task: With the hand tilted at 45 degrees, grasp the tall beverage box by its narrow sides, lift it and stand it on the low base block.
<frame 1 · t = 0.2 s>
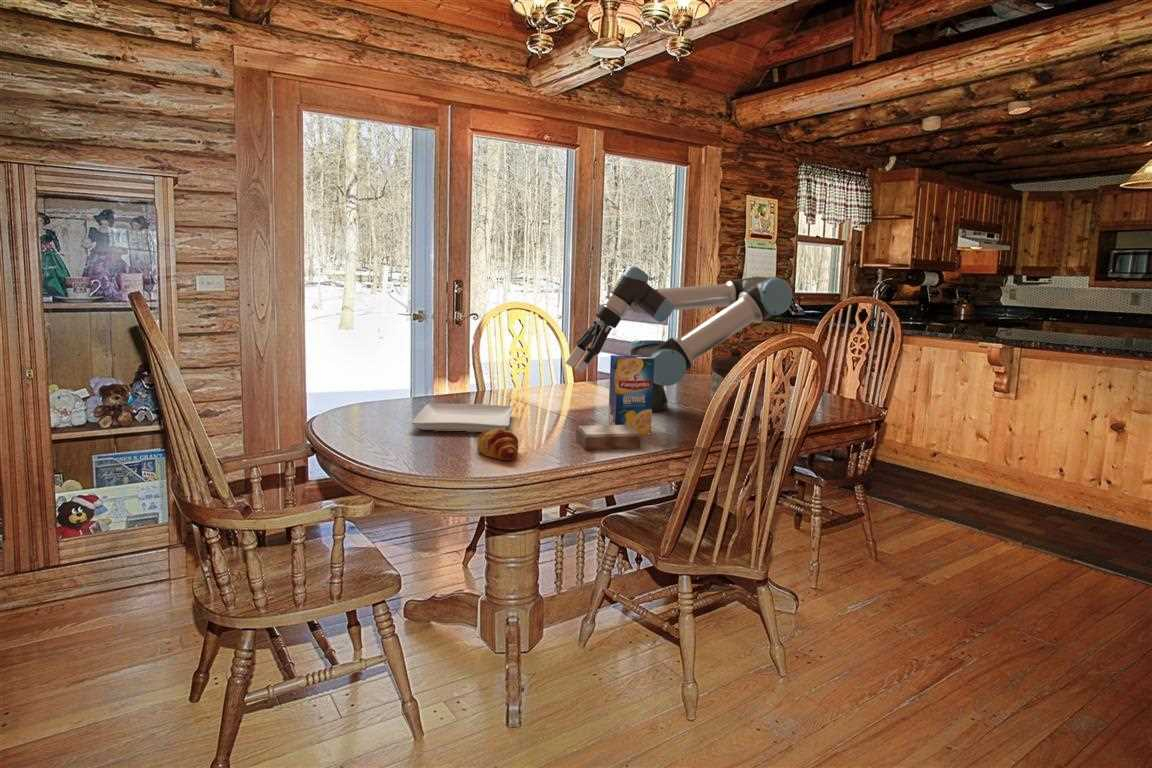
hand: (573, 368, 222), 16 cm above the table, tool tilted 35°, fingers open, 13 cm apart
beverage box: (629, 432, 208), on the table
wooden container: (732, 416, 235), on the table
base block: (607, 443, 193), on the table
croissant: (498, 454, 181), on the table
square plate: (465, 425, 212), on the table
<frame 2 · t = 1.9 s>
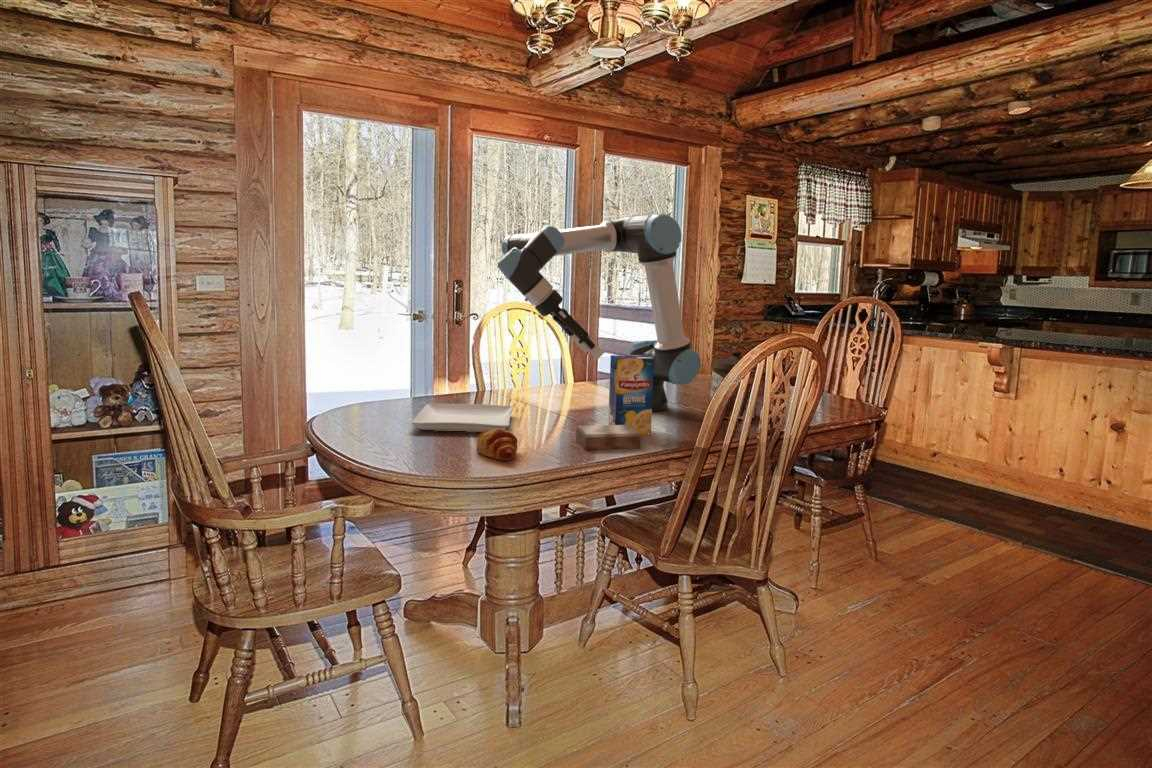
hand: (594, 353, 201), 23 cm above the table, tool tilted 45°, fingers open, 13 cm apart
nothing on the table moved.
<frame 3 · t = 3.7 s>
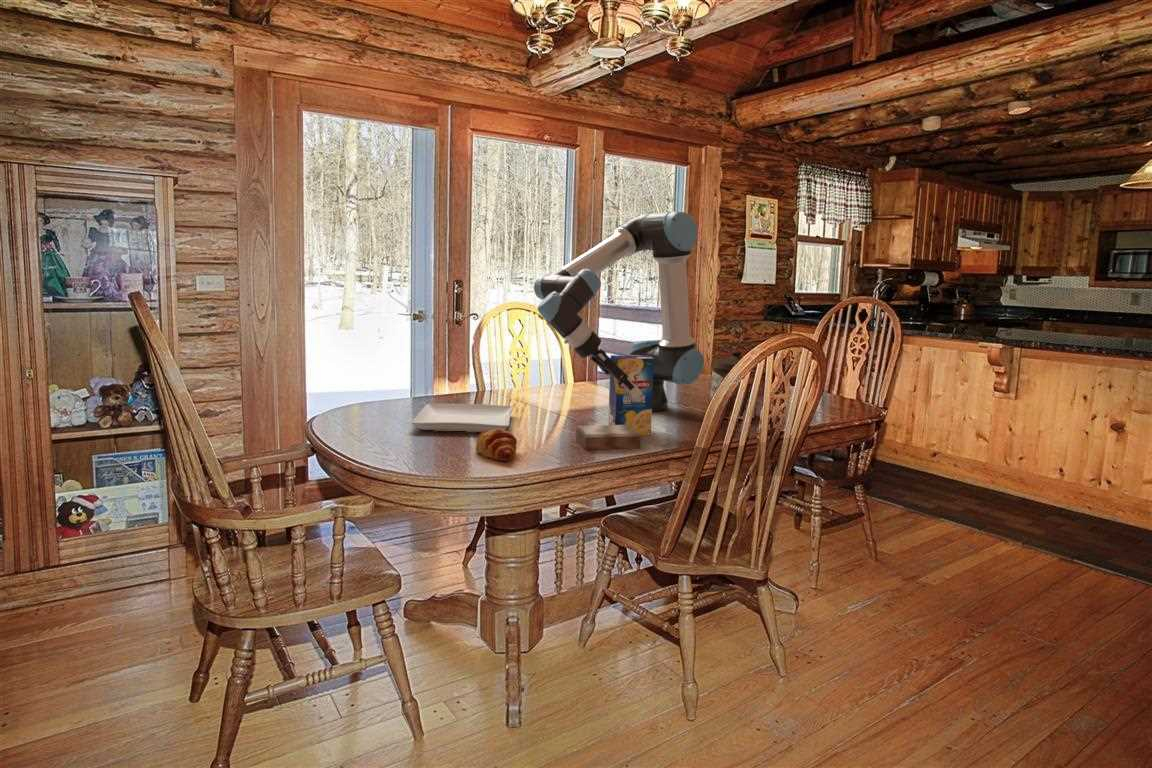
hand: (632, 392, 206), 12 cm above the table, tool tilted 45°, fingers open, 13 cm apart
nothing on the table moved.
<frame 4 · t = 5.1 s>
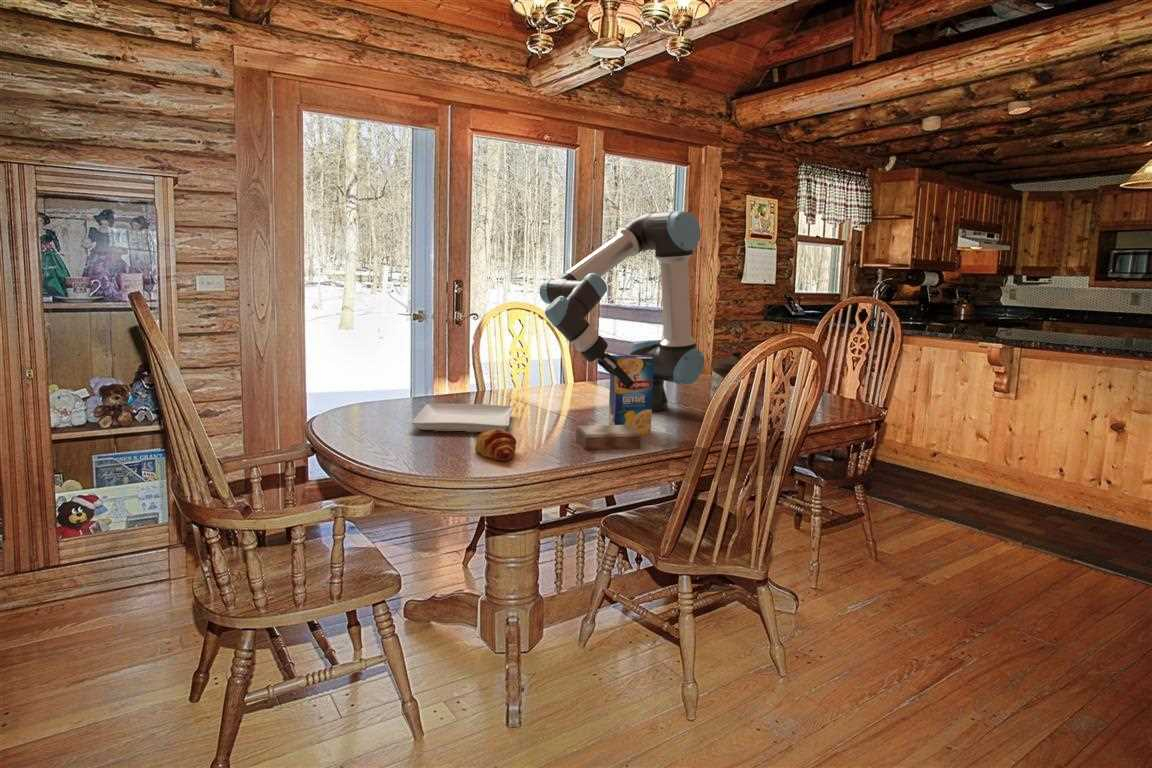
hand: (643, 401, 207), 9 cm above the table, tool tilted 45°, fingers closed on beverage box, 2 cm apart
beverage box: (629, 432, 208), on the table, touching gripper
everything else where it was.
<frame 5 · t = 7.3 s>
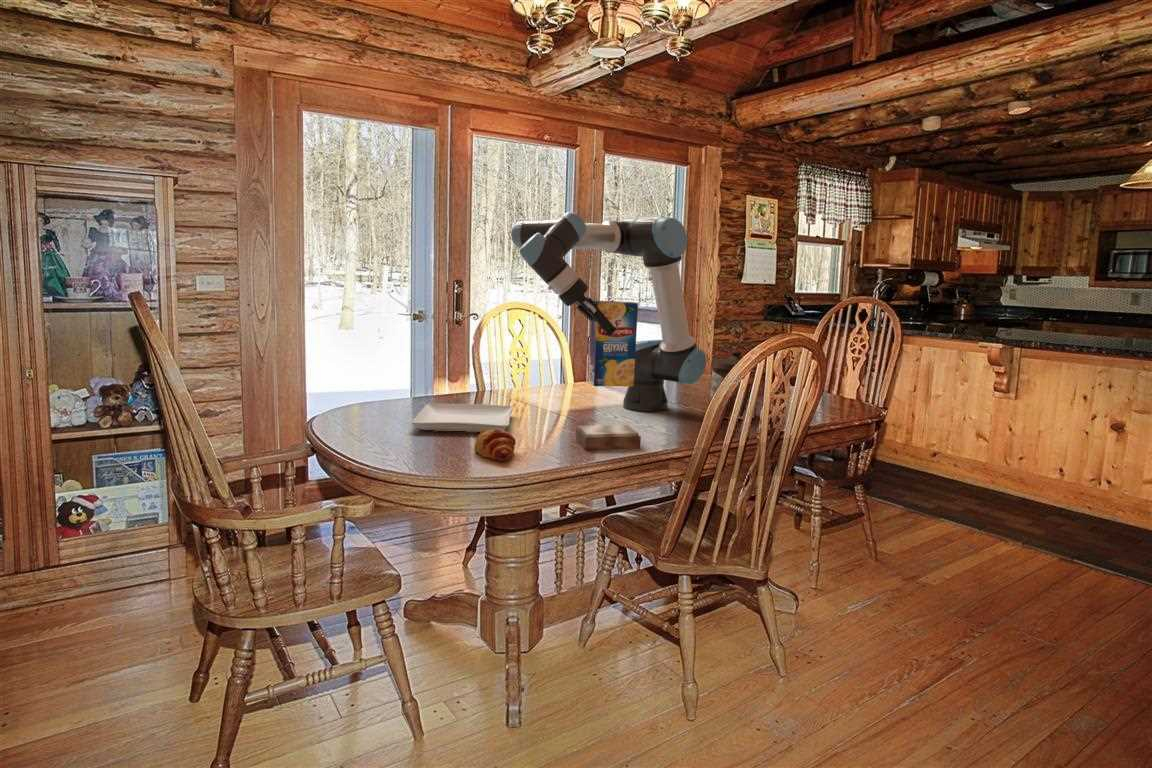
hand: (626, 350, 192), 25 cm above the table, tool tilted 45°, fingers closed on beverage box, 2 cm apart
beverage box: (610, 384, 192), point 16 cm above the table, touching gripper
everything else where it was.
when the fingers open (15 cm above the table, at t = 9.4 s): beverage box drops 1 cm, resting on base block.
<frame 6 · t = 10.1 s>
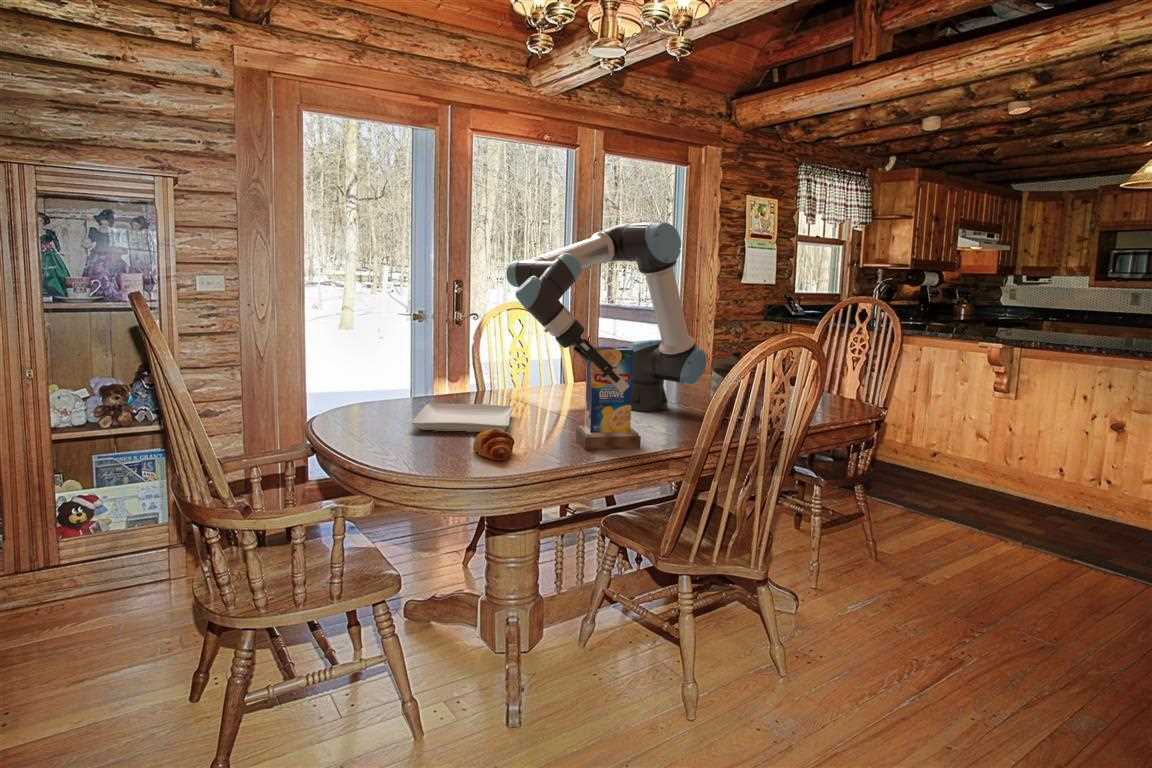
hand: (618, 385, 191), 16 cm above the table, tool tilted 45°, fingers open, 13 cm apart
beverage box: (607, 430, 193), point 4 cm above the table, touching base block
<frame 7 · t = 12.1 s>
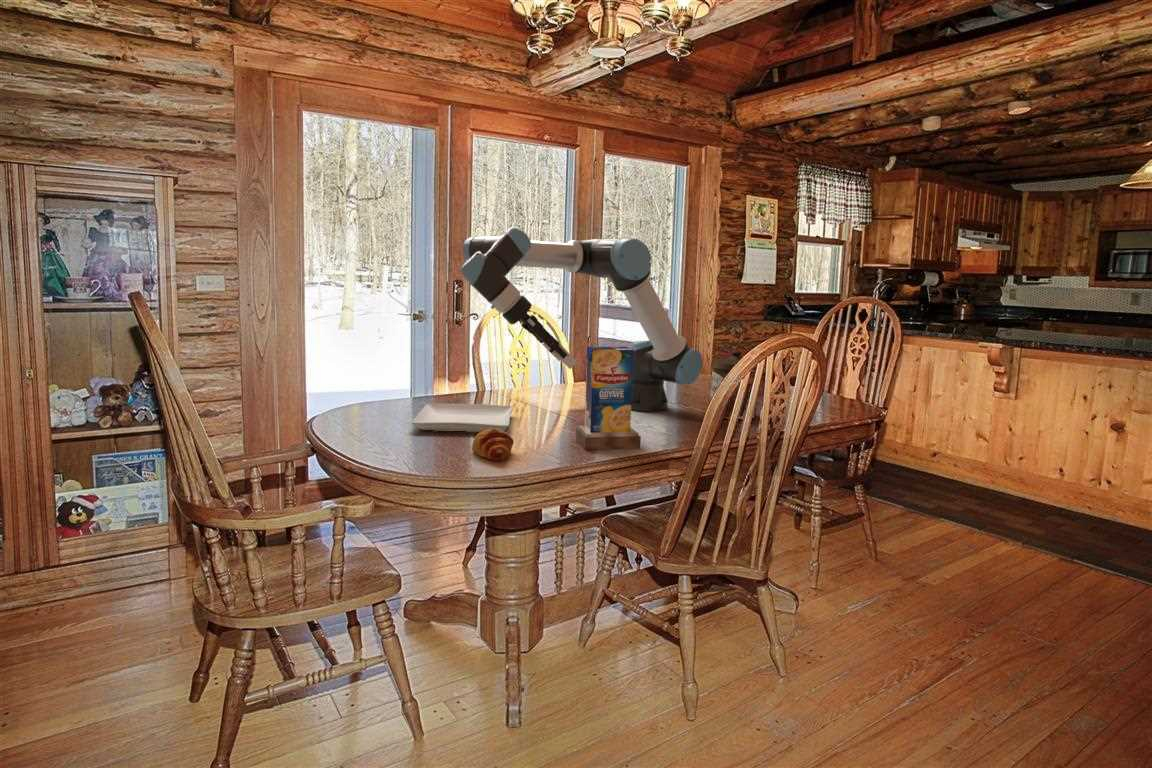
hand: (567, 361, 190), 22 cm above the table, tool tilted 45°, fingers open, 13 cm apart
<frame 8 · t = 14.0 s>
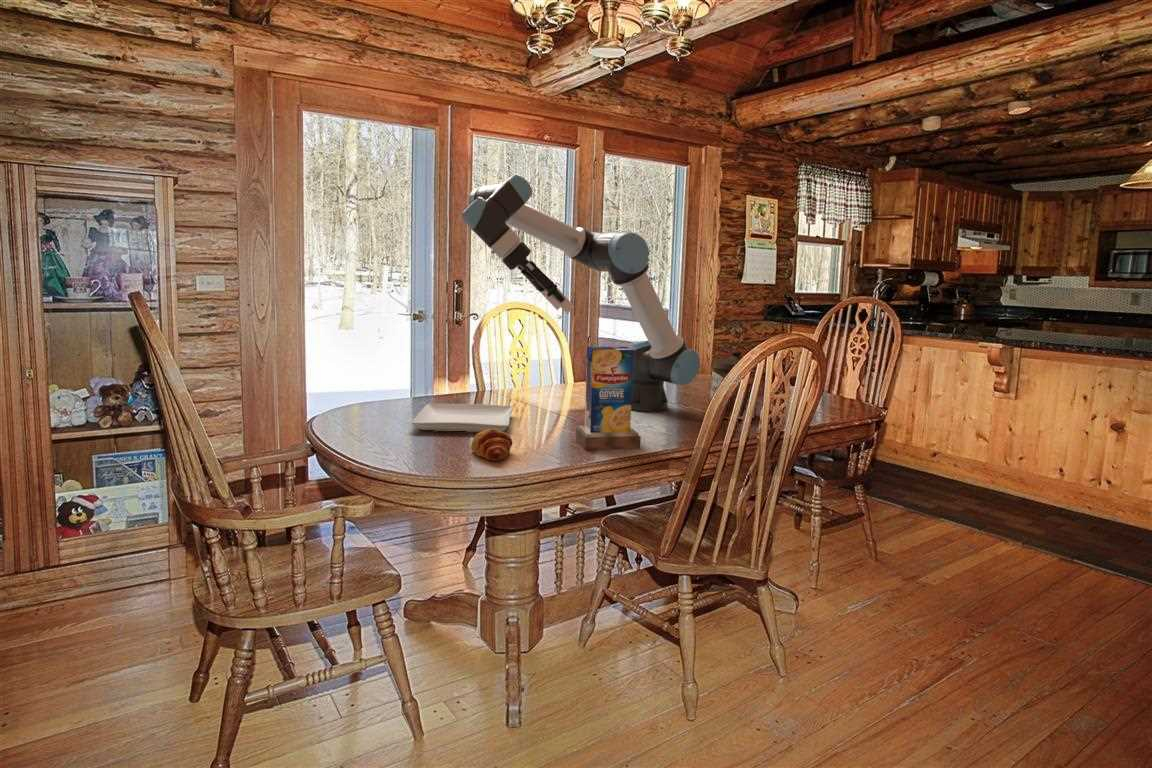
hand: (565, 308, 194), 36 cm above the table, tool tilted 45°, fingers open, 13 cm apart
at the end: beverage box inside the target area on the base block (0.3 cm from its centre), point 3.8 cm above the base block's base; beverage box tilted 0°; the gripper is holding nothing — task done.
